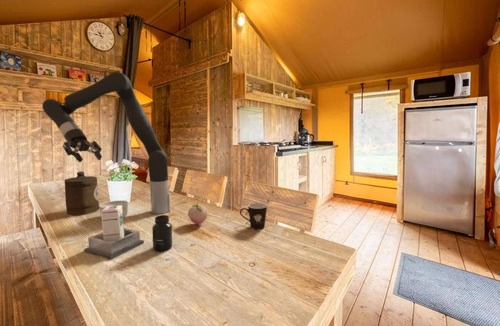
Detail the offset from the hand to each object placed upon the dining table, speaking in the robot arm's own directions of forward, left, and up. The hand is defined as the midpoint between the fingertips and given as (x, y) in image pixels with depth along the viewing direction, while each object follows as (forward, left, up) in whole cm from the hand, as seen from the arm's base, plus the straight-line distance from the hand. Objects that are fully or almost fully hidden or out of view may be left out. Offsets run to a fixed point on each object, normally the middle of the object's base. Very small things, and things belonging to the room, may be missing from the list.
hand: (91, 159), depth 110 cm
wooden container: (+9, -28, -31) cm, 43 cm away
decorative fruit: (-43, +19, -31) cm, 56 cm away
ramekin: (-7, -10, -31) cm, 33 cm away
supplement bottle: (-25, +37, -31) cm, 54 cm away
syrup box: (-9, +28, -30) cm, 42 cm away
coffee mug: (-66, +33, -31) cm, 80 cm away
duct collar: (-9, +28, -31) cm, 43 cm away
